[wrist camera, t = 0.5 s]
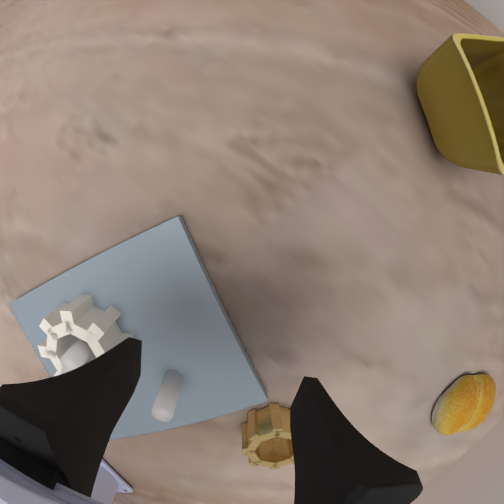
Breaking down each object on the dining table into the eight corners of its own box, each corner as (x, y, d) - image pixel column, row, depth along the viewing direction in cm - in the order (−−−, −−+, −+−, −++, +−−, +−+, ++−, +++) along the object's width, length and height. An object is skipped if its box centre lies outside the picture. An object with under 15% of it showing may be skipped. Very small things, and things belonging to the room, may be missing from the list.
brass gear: (255, 449, 26) (258, 474, 22) (232, 415, 25) (232, 441, 21) (309, 432, 26) (315, 456, 22) (290, 395, 24) (297, 420, 21)
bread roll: (446, 372, 26) (466, 392, 22) (493, 368, 26) (512, 383, 22) (416, 431, 27) (430, 453, 23) (465, 422, 28) (480, 439, 24)
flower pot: (424, 177, 21) (503, 177, 12) (387, 74, 20) (451, 31, 11) (489, 154, 21) (560, 152, 12) (458, 66, 19) (522, 38, 10)
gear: (86, 380, 22) (71, 402, 19) (46, 311, 21) (24, 327, 18) (149, 361, 22) (137, 385, 19) (105, 283, 21) (85, 298, 17)
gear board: (103, 433, 25) (85, 470, 19) (16, 299, 22) (-21, 322, 16) (266, 392, 24) (273, 438, 19) (181, 214, 21) (161, 223, 16)
